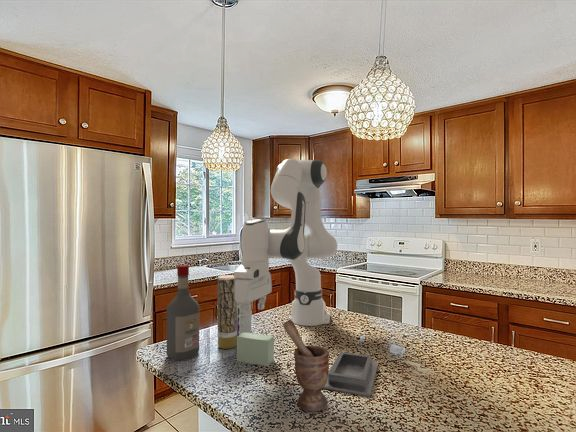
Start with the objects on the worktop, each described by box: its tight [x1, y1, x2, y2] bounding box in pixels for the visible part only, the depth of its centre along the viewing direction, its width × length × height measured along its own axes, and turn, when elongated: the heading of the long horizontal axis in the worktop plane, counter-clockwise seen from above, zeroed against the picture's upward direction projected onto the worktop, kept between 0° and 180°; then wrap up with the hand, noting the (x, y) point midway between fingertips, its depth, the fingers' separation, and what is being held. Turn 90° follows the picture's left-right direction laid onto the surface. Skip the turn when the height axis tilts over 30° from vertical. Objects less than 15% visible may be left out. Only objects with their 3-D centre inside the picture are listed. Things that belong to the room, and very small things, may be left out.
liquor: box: [166, 264, 200, 362], centre depth 115 cm, size 9×9×30 cm
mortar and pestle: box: [282, 319, 330, 412], centre depth 84 cm, size 12×9×20 cm
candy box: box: [237, 304, 252, 336], centre depth 133 cm, size 14×6×16 cm, turn 33°
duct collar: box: [322, 351, 379, 398], centre depth 99 cm, size 20×13×3 cm, turn 160°
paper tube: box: [217, 274, 237, 350], centre depth 122 cm, size 7×7×25 cm
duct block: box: [236, 332, 275, 367], centre depth 110 cm, size 4×11×8 cm, turn 70°
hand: (255, 312), depth 109 cm, fingers open, 8 cm apart
